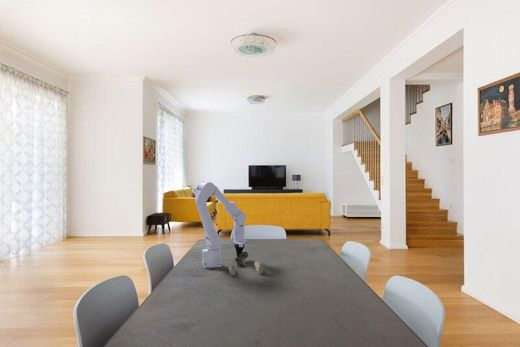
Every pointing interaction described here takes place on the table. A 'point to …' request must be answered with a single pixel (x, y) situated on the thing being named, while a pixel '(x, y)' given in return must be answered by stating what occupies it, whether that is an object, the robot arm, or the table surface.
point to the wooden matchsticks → (256, 264)
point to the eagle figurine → (241, 258)
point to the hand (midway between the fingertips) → (239, 257)
